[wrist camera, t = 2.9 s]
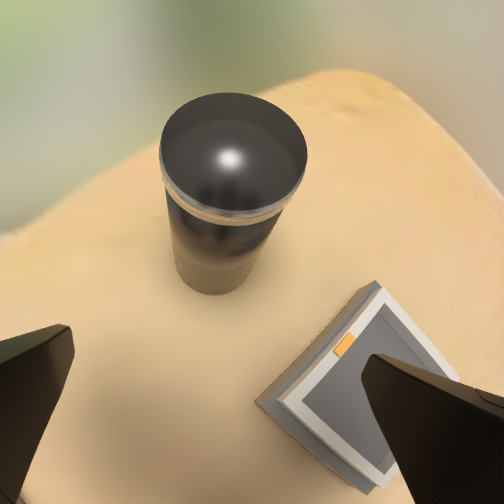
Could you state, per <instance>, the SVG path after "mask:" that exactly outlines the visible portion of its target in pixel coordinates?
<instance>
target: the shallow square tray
mask: <svg viewBox="0 0 504 504" xmlns="http://www.w3.org/2000/svg"><path fill="white" fill-rule="evenodd" d="M375 353H382V354H385V355H388V356H390V357H393V358H395V359H398V360H401V361H403V362H406V363H408V364H411V365H413V366H416V367H419V368H421V369H424V370H426V371H429V372H432V373H434V374H437V375H440V376H442V377H445V378H448V379H451V380H453V381H456V382H458V381H459V379H460V377H459V376H458V374H457V373H456V372H455V370H454V369H453V368H452V367H451V365H450V364H449V363H448V362H447V360H446V359H445V358H444V357H443V356H442V354H441V353H440V352H439V351H438V349H437V348H436V347H435V346H434V345H433V343H432V342H431V341H430V340H429V339H428V337H427V336H426V335H425V334H424V333H423V331H422V330H421V329H420V328H419V327H418V326H417V324H416V323H415V322H414V321H413V320H412V319H411V318H410V316H409V315H408V314H407V313H406V312H405V311H404V309H403V308H402V307H401V306H400V305H399V304H398V303H397V302H396V300H395V299H394V298H393V297H392V296H391V295H390V294H389V293H388V292H387V290H386V289H385V288H384V287H381V286H380V285H379V284H378V283H377V282H376V280H375V281H373V282H371V283H369V284H368V285H366V286H364V287H362V288H361V289H359V290H358V292H357V293H356V294H355V295H354V296H353V298H352V299H351V300H350V301H349V302H348V303H347V305H346V306H345V307H344V308H343V309H342V310H341V312H340V313H339V314H338V315H337V316H336V317H335V318H334V319H333V321H332V322H331V323H330V324H329V325H328V326H327V327H326V328H325V330H324V331H323V332H322V333H321V334H320V335H319V336H318V337H317V338H316V339H315V340H314V342H313V343H312V344H311V345H310V346H309V347H308V348H307V349H306V350H305V351H304V352H303V353H302V354H301V355H300V356H299V357H298V358H297V359H296V361H295V362H294V363H293V364H292V365H291V366H290V367H289V368H288V369H287V370H286V371H285V372H284V373H283V374H282V375H281V376H280V377H279V378H278V379H277V380H276V381H275V382H274V383H273V384H272V385H271V386H270V387H269V388H268V389H267V390H266V391H264V392H263V393H262V394H261V395H260V396H259V397H258V398H257V399H256V400H255V401H254V402H255V403H256V404H257V405H258V406H260V407H261V408H262V409H263V410H264V411H265V412H266V413H267V414H268V415H269V416H270V417H271V418H272V419H273V420H274V421H275V422H277V423H278V424H279V425H280V426H281V427H282V428H283V429H284V430H285V431H286V432H288V433H289V434H290V435H291V436H292V437H293V438H294V439H295V440H296V441H298V442H299V443H300V444H301V445H302V446H303V447H304V448H306V449H307V450H308V451H309V452H310V453H311V454H313V455H314V456H315V457H316V458H317V459H319V460H320V461H321V462H322V463H323V464H325V465H326V466H327V467H328V468H329V469H331V470H332V471H333V472H334V473H336V474H337V475H338V476H339V477H341V478H342V479H343V480H344V481H346V482H347V483H348V484H350V485H351V486H352V487H354V488H356V489H357V490H359V491H361V492H362V493H364V494H366V495H368V494H369V492H370V491H371V490H372V489H373V488H374V487H375V486H378V487H380V488H382V489H383V488H384V487H385V486H386V485H387V484H388V483H389V481H390V480H391V479H392V478H393V477H394V475H395V474H396V473H397V472H398V471H399V467H398V465H397V463H396V461H395V459H394V456H393V454H392V452H391V450H390V448H389V446H388V444H387V442H386V440H385V438H384V436H383V433H382V431H381V429H380V427H379V425H378V423H377V421H376V419H375V417H374V415H373V412H372V410H371V407H370V404H369V401H368V398H367V396H366V393H365V390H364V387H363V385H362V382H361V373H362V371H363V369H364V367H365V365H366V362H367V360H368V358H369V356H370V355H371V354H375Z"/></svg>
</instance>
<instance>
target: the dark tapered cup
mask: <svg viewBox="0 0 504 504" xmlns="http://www.w3.org/2000/svg"><path fill="white" fill-rule="evenodd" d="M159 159H160V168H161V175H162V180H163V182H164V185H165V190H166V198H167V206H168V214H169V221H170V228H171V235H172V242H173V249H174V255H175V261H176V266H177V270H178V272H179V275H180V276H181V278H182V279H183V281H184V282H185V283H186V284H187V285H188V286H189V287H191V288H192V289H194V290H196V291H198V292H200V293H203V294H207V295H221V294H225V293H228V292H231V291H232V290H234V289H236V288H237V287H238V286H240V285H241V284H242V283H243V281H244V280H245V279H246V277H247V275H248V273H249V272H250V270H251V268H252V266H253V264H254V262H255V260H256V259H257V257H258V255H259V253H260V251H261V249H262V248H263V246H264V244H265V242H266V240H267V238H268V237H269V235H270V233H271V231H272V229H273V227H274V225H275V224H276V222H277V220H278V218H279V216H280V214H281V212H282V211H283V209H284V207H285V206H286V205H287V204H288V203H289V202H290V200H291V199H292V197H293V195H294V194H295V192H296V190H297V188H298V186H299V185H300V183H301V181H302V179H303V176H304V173H305V167H306V163H307V146H306V142H305V139H304V136H303V134H302V132H301V130H300V128H299V127H298V126H297V124H296V123H295V122H294V121H293V119H292V118H291V117H290V116H289V115H287V114H286V113H285V112H284V111H283V110H281V109H280V108H278V107H277V106H275V105H273V104H272V103H270V102H267V101H265V100H263V99H260V98H257V97H254V96H250V95H246V94H240V93H216V94H210V95H205V96H202V97H199V98H196V99H194V100H192V101H190V102H188V103H186V104H184V105H183V106H182V107H180V108H179V109H178V110H177V111H176V112H175V113H174V114H173V115H172V116H171V117H170V118H169V120H168V121H167V123H166V125H165V127H164V130H163V133H162V137H161V141H160V147H159Z"/></svg>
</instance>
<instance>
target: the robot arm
mask: <svg viewBox="0 0 504 504" xmlns="http://www.w3.org/2000/svg"><path fill="white" fill-rule="evenodd" d="M74 354H75V349H74V343H73V337H72V331H71V328H70V327H69V326H66V325H61V324H56V325H53V326H50V327H46V328H43V329H40V330H36V331H33V332H30V333H26V334H23V335H20V336H16V337H13V338H10V339H6V340H3V341H0V504H16V503H17V500H18V497H19V494H20V491H21V489H22V486H23V483H24V480H25V478H26V475H27V472H28V470H29V467H30V465H31V462H32V459H33V457H34V455H35V452H36V450H37V447H38V445H39V442H40V440H41V438H42V435H43V433H44V431H45V428H46V426H47V424H48V422H49V420H50V417H51V415H52V413H53V411H54V409H55V406H56V404H57V402H58V400H59V398H60V396H61V393H62V390H63V388H64V385H65V382H66V379H67V376H68V373H69V370H70V367H71V364H72V361H73V359H74ZM361 382H362V385H363V387H364V390H365V393H366V396H367V398H368V401H369V404H370V407H371V410H372V412H373V415H374V417H375V419H376V421H377V423H378V425H379V427H380V429H381V431H382V433H383V436H384V438H385V440H386V442H387V444H388V446H389V448H390V450H391V452H392V454H393V456H394V459H395V461H396V463H397V465H398V467H399V469H400V471H401V473H402V476H403V478H404V480H405V482H406V484H407V486H408V489H409V491H410V493H411V495H412V497H413V500H414V502H415V504H504V397H501V396H497V395H494V394H491V393H488V392H485V391H482V390H480V389H477V388H475V389H474V388H473V387H470V386H467V385H464V384H462V383H459V382H456V381H453V380H451V379H448V378H445V377H442V376H440V375H437V374H434V373H432V372H429V371H426V370H424V369H421V368H419V367H416V366H413V365H411V364H408V363H406V362H403V361H401V360H398V359H395V358H393V357H390V356H388V355H385V354H382V353H375V354H371V355H370V356H369V358H368V360H367V362H366V365H365V367H364V369H363V371H362V373H361Z"/></svg>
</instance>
